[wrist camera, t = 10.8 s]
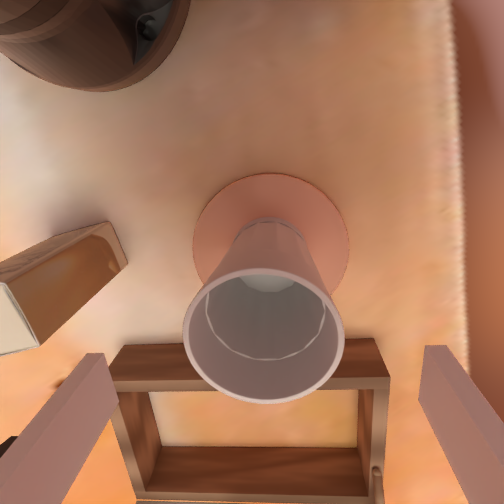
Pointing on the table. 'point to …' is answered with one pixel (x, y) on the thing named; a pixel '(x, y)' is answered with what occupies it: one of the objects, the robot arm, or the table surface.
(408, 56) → the table surface
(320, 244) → the saucer
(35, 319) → the skincare box
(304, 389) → the cup
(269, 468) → the hinged wooden box
